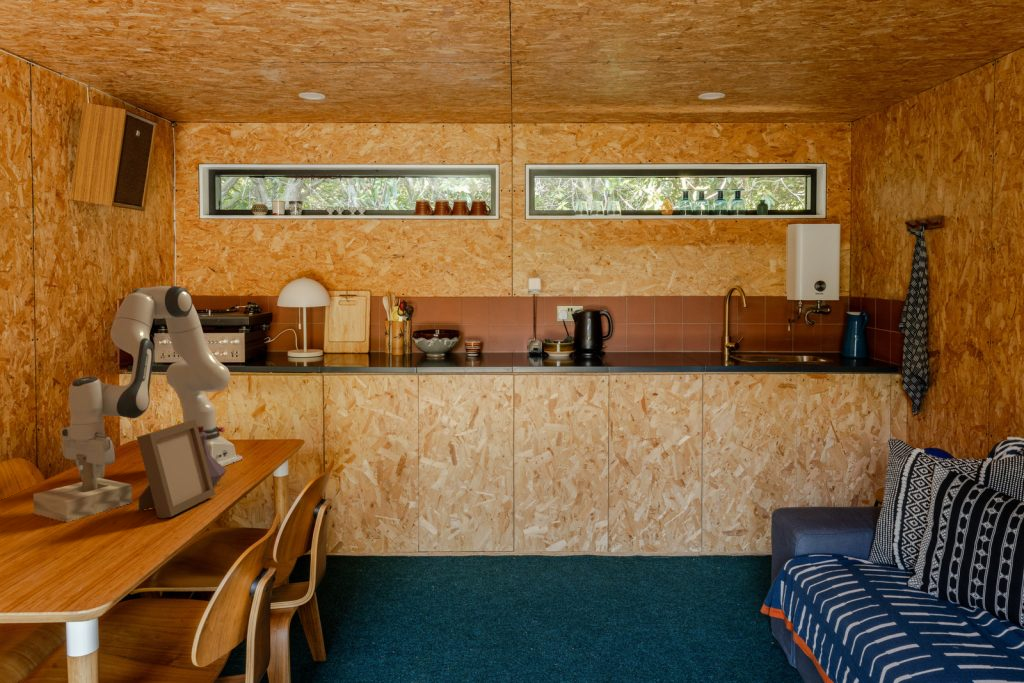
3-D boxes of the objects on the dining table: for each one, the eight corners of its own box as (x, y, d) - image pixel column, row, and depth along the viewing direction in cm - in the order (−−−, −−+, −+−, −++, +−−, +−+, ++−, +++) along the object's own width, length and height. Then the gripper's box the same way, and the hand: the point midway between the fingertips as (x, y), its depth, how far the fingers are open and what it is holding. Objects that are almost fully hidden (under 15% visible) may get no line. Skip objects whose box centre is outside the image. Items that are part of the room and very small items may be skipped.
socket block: (99, 496, 231) (98, 477, 231) (131, 503, 224) (131, 484, 224) (34, 513, 214) (33, 494, 213) (67, 522, 206) (66, 501, 206)
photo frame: (215, 497, 230) (211, 420, 228) (171, 519, 209) (167, 434, 207) (173, 495, 233) (169, 419, 231) (126, 517, 212) (121, 433, 210)
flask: (173, 494, 234) (171, 433, 232) (175, 481, 249) (173, 424, 247) (228, 489, 240) (226, 429, 238) (226, 476, 255) (224, 420, 253)
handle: (97, 504, 218) (95, 455, 217) (75, 505, 218) (73, 456, 217) (105, 499, 223) (103, 451, 222) (83, 500, 223) (81, 452, 221)
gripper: (119, 432, 217) (121, 477, 218) (77, 426, 226) (79, 469, 227) (99, 436, 211) (101, 483, 212) (57, 429, 221) (59, 474, 222)
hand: (89, 476), depth 220 cm, fingers closed on handle, 5 cm apart
